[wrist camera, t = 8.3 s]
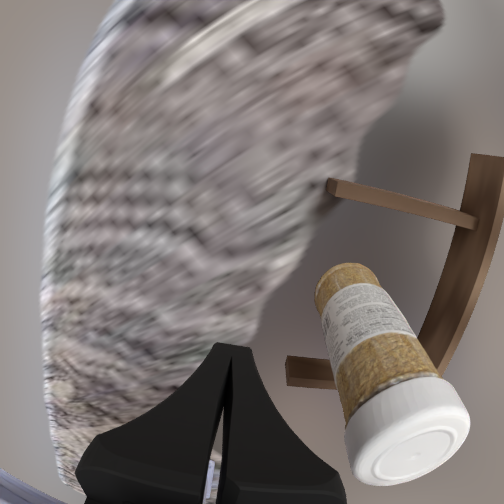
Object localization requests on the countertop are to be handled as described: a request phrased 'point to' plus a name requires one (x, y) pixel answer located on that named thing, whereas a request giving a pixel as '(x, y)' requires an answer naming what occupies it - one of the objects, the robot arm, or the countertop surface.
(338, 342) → the sprinkles bottle
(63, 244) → the countertop surface
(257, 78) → the countertop surface
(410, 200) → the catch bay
